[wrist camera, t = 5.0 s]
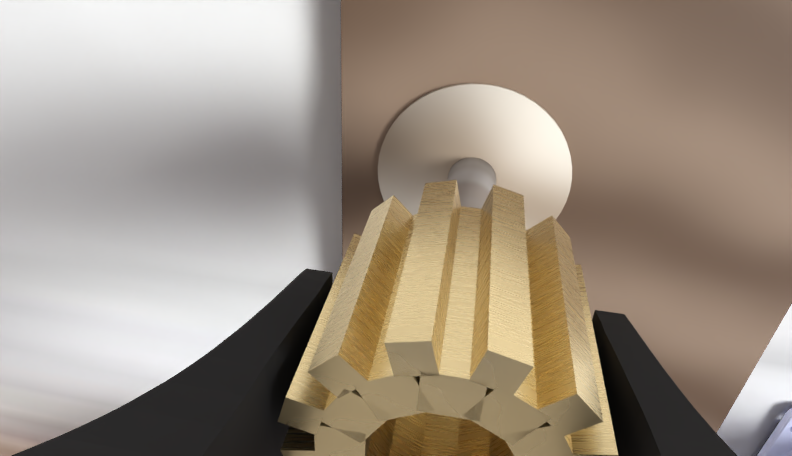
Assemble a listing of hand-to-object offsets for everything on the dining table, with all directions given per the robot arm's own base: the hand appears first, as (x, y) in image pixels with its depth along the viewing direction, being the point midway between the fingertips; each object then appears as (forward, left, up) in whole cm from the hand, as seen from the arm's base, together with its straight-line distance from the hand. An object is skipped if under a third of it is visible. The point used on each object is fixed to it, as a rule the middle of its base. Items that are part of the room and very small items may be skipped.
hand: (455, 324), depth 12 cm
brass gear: (0, 0, -1) cm, 1 cm away
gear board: (-2, -4, -9) cm, 10 cm away
